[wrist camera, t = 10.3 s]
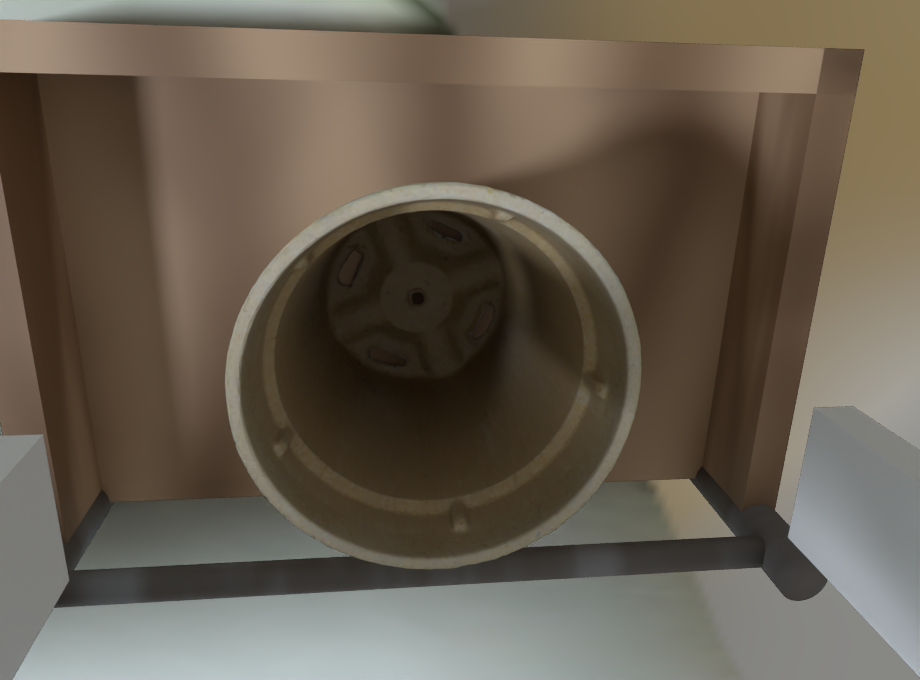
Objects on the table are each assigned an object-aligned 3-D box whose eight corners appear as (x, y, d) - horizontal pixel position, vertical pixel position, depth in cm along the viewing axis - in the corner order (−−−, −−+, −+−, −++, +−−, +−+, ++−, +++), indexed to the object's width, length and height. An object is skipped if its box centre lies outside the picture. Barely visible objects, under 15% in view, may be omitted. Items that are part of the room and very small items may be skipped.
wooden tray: (73, 511, 27) (-22, 652, 20) (-11, 27, 21) (-178, 4, 15) (722, 484, 30) (823, 599, 23) (793, 54, 24) (951, 45, 18)
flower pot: (261, 144, 22) (202, 182, 14) (562, 147, 24) (664, 183, 16) (281, 423, 26) (242, 582, 18) (545, 413, 27) (623, 559, 19)
